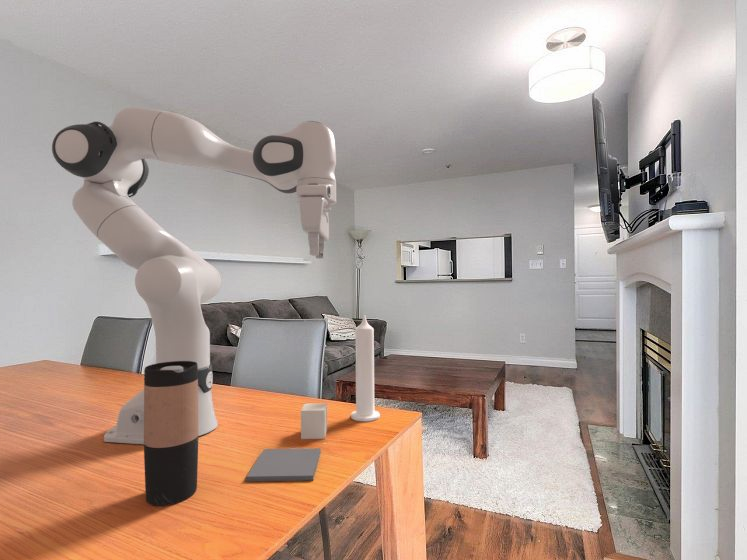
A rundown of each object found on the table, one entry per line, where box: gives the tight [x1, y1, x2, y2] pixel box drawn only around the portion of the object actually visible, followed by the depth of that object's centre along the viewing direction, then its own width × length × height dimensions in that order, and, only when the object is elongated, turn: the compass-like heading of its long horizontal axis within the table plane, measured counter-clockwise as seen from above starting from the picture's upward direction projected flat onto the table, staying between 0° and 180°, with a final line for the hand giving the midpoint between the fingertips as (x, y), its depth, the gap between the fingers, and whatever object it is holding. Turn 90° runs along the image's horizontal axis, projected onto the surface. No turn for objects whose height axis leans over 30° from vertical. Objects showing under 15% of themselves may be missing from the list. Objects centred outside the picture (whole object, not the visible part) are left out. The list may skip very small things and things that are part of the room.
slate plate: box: [245, 447, 322, 482], centre depth 71 cm, size 11×11×1 cm
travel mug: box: [143, 361, 199, 507], centre depth 62 cm, size 8×8×20 cm
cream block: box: [300, 402, 328, 440], centre depth 86 cm, size 5×5×6 cm
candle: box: [350, 314, 381, 422], centre depth 98 cm, size 7×7×25 cm
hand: (317, 257), depth 90 cm, fingers open, 8 cm apart
